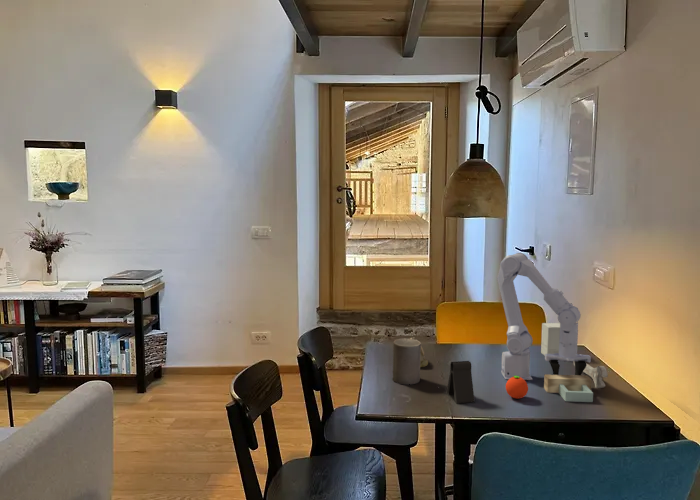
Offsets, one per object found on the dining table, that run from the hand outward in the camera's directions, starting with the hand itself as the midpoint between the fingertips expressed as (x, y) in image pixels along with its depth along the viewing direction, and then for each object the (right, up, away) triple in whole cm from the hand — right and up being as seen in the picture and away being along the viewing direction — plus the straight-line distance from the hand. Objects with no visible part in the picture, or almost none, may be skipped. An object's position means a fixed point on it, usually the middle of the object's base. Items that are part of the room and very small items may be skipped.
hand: (566, 381), depth 183 cm
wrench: (+11, -1, +8) cm, 14 cm away
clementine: (-20, -3, -9) cm, 22 cm away
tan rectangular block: (-1, -2, -4) cm, 4 cm away
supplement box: (+8, +2, +34) cm, 35 cm away
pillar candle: (-54, -1, +7) cm, 54 cm away
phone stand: (-38, -3, -9) cm, 39 cm away
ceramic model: (-49, +1, +26) cm, 56 cm away
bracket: (-1, -3, -9) cm, 9 cm away
